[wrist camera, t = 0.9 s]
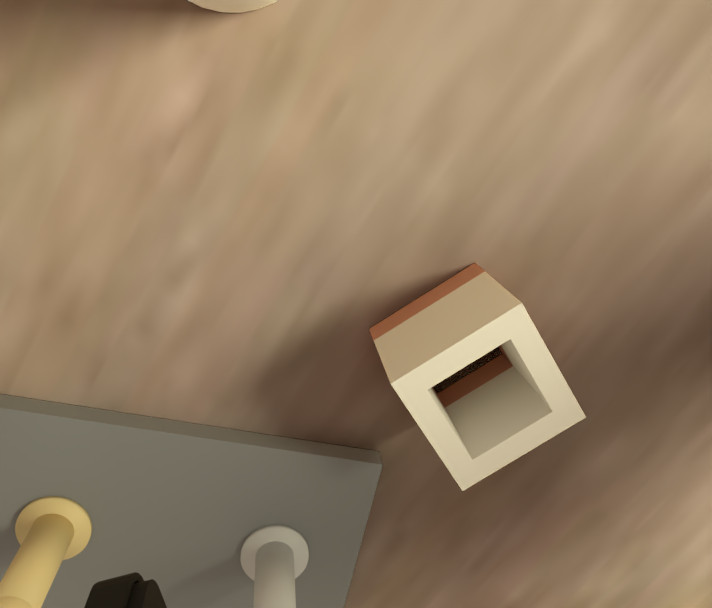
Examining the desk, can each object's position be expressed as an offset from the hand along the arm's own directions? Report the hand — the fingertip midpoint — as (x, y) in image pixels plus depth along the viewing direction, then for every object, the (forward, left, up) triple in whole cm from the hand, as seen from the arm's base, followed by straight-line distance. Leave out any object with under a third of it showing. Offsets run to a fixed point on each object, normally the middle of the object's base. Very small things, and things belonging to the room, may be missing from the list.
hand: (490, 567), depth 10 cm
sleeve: (-6, +3, -20) cm, 22 cm away
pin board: (+5, +15, -20) cm, 26 cm away
